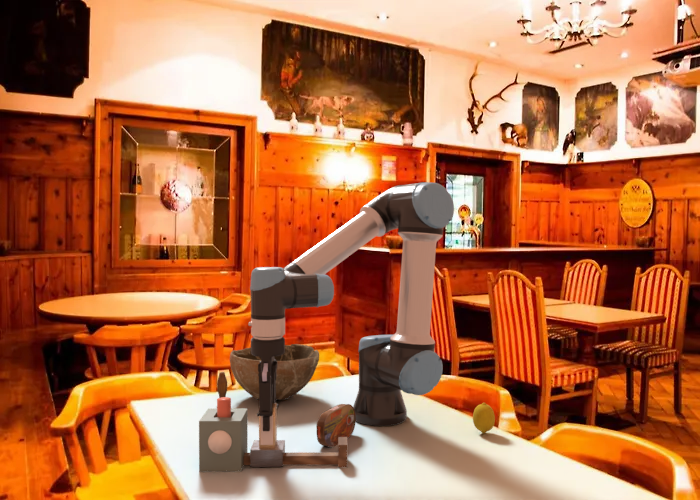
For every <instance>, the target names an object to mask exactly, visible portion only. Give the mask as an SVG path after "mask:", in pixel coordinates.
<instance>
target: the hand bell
mask: <svg viewBox="0 0 700 500" xmlns="http://www.w3.org/2000/svg"><path fill="white" fill-rule="evenodd" d="M216 389H217V393H218V398H221V397H227V396H226V394H227V392H228V379H227V377H226V373H225V371H221V372H219V375H218V377H217V382H216Z"/></svg>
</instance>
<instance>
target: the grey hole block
mask: <svg viewBox="0 0 700 500" xmlns="http://www.w3.org/2000/svg"><path fill="white" fill-rule="evenodd" d="M245 453H248V408H247V407H246V408H245V407H244V408H240V407H239V408H233V407H232V408H231V417H217V408H207V410H206V411H205V413H203V415H202V416H201V418H200V419H199V420H198V454H199V455H198V471H199V472H205V473H207V472H219V473H220V472H242V471H243V468H244V466H245V465H244V454H245Z"/></svg>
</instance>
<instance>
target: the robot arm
mask: <svg viewBox="0 0 700 500" xmlns="http://www.w3.org/2000/svg"><path fill="white" fill-rule="evenodd" d="M453 200H454V199H453V198H452V196H451V194H450V193H449V191H448V189H447V188H446V187H444V186H443V185H442V184H440V183H438V182H427V181H426V182H424V181H422V182H418V183H409V184H399V185H395V186H392V187H391V188H388V189H387V190H384V191H383V192H382V193H380V194H378V195H377V196H376V197H374V198H373V199H372V200H370V201H369V202H367V203H366V204H365V205H363V206H362V207H361V208H360V210H359V213H358V214H357V215H356V216H354V217H353V218H351V219H350V220H349V221H347V222H346V223H345V224H344V225H342V226H341V227H339V228H338V229H336V230H335V231H334V232H332V233H331V234H328V236H327V237H325V238H324V239H322V240H321V241H320V242H318V243H317V244H316V245H315V244H314V246H313V247H311V248H310V249H308V250H307V251H305V252H304V253H303V254H301V255H300V256H299V257H297V258H296V259H294V261H292V262H290V263H289V264H287V265H286V266H284V267H281V266H271V267H270V266H264V267H263V266H259V267H255V268H254V269H253V270H252V271H251V274H250V287H249V289H250V321H249V322H248V324H247V325H248V326H249V327H251V328H250V334H251V336H252V337H251V339H250V347H251V354H252V355H254V356H259V357H261V361H260V364H258V372H259V373H258V376H259V401H258V402H259V403H258V404H259V405H258V406H259V407H258V409H259V410H258V412H257V413H256V416H257V417H259V416H260V445H273V415H272V414H273V412H272V403H277V400H276V377H277V366H278V363H277V361H276V360H275V357H274V356H280V355H283V354H284V353H285V345H286V339H285V337H284V336H285V335H286V310H287V309H298V308H300V309H301V308H319V307H325V306H328V305H330V304H331V303H332V301H333V300H334V296H335V286H334V282H333V279H332V278H331V277H330V276H329V275H328V274H327V273H328V272H330V271H331V270H333V269H335V267H337V266H338V265H339V264H340V263H342V262H343V261H345V260H346V259H348V258H349V256H351V255H353V254H354V253H355V252H357V251H358V250H359V249H361V248H362V247H364V246H365V245H366V244H367V243H369V242H370V241H371V240H372V239H374V238H376V237H378V238H379V237H383V236H384V235H386V234H387V233H389V232H390V231H393V230H397V235H398V236H399V237H401V239H402V252H401V253H402V254H401V267H400V279H399V282H400V283H399V292H398V293H399V294H398V308H397V309H398V310H397V318H396V319H397V321H396V323H397V324H396V331H395V333H394V334H378V335H377V334H376V335H368V336H364V337H361V338H360V340H359V344H358V351H357V352H358V391H357V395H356V397H355V400H354V403H353V405H352V406H353V408H354V410H355V414H356V422H358V423H359V424H362V425H365V426H366V425H367V426H374V427H375V426H377V427H386V426H387V427H389V426H394V425H395V426H396V425H399V424H402V423H404V422H405V421H406V420H407V418H408V417H407V416H408V415H407V412H408V411H407V407H406V404H405V401H404V398H403V397H404V396H403V394H402V392H403V393H405V394H408V395H409V394H412V395H415V396H423V395H426V394H428V393H430V392H431V391H433V389H434V388H435V387H436V386H437V385H438V384H439V382H440V380H441V378H442V375H443V367H444V366H443V361H442V359H441V358H440V356H439V355H438V354H437V352H436V350H435V349H436V341H435V339H434V338H433V337H432V336H431V325H432V324H431V323H432V309H433V308H432V306H433V292H434V282H435V281H434V280H435V279H434V277H435V266H436V265H435V264H436V252H437V250H436V249H437V242H438V241H439V240H441V239H442V238H443V235H444V228H445V227H446V226H447V225H449V224H450V222H451V221H452V220H453V218H454V217H453V216H454V214H455V213H454V212H455V206H454V201H453ZM278 408H279V403H277V409H278Z"/></svg>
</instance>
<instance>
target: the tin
mask: <svg viewBox="0 0 700 500" xmlns="http://www.w3.org/2000/svg"><path fill="white" fill-rule="evenodd" d="M353 406H354V405H352V404H349V403H339V404H337V405H335V406H333V407H332V408H330V409H327V410H326V411H324V412H322V413H321V414H320V415H319V417H318V419H317V421H316V439H317V442H318V443H319V444H320V445H321V446H324V447H329V448H334V447H336V446H338V437H347V439H349V438H350V437H351V436H352V435H353V433H354V431H355V427H356V422H357V421H356V414H355V410H354V408H353Z"/></svg>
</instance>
